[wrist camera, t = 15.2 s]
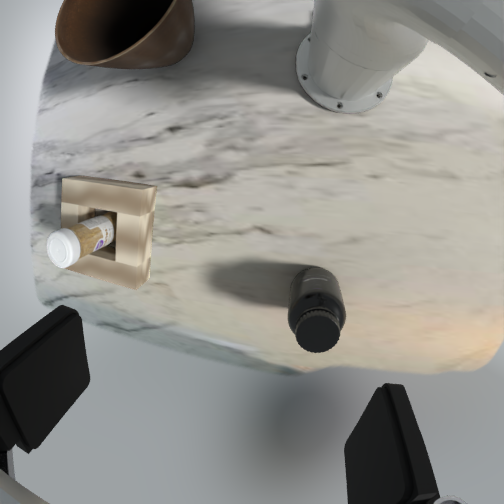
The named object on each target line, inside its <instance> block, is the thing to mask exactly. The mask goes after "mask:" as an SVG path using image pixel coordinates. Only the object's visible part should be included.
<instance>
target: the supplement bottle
mask: <svg viewBox="0 0 504 504" xmlns="http://www.w3.org/2000/svg"><path fill="white" fill-rule="evenodd" d="M345 320H346V311H345V306H344V302H343V298H342V294H341V290H340V287H339V283H338V281H337V279H336V277H335V276H334V275H333V274H332V273H331V272H329V271H328V270H326V269H323V268H316V267H315V268H308V269H306V270H303V271H302V272H300V273H299V274H298V275H297V276H296V277H295V278H294V280H293V282H292V285H291V289H290V298H289V308H288V324H289V327H290V329H291V330H292V332H293V333H294V334H295V337H296V340H297V342H298V344H299V345H300V346H301V347H302V348H303V349H304V350H307V351H310V352H314V353H317V352H318V353H321V352H325V351H328V350H329V349H331V348H332V347H334V346H335V344H336V343H337V341H338V340H339V337H340V331H341V330H342V328H343V326H344V324H345Z"/></svg>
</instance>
